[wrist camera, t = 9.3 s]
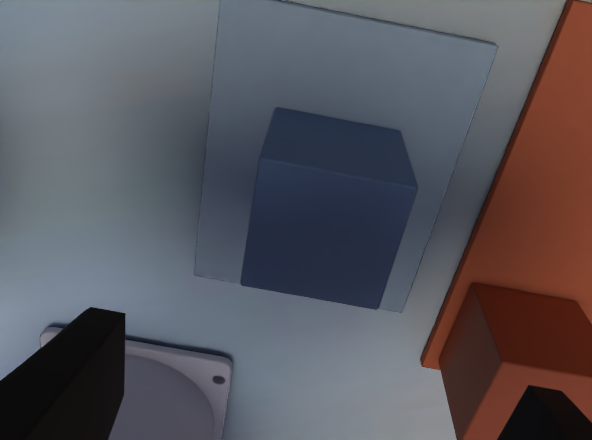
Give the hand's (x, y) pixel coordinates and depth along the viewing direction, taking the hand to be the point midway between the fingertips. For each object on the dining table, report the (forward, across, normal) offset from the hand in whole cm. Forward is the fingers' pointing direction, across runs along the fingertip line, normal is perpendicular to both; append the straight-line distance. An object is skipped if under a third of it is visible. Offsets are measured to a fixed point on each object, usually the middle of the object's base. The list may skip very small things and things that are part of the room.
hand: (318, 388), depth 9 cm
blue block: (+9, 0, 0) cm, 9 cm away
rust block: (+9, -8, +5) cm, 13 cm away
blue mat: (+9, 0, 0) cm, 9 cm away
